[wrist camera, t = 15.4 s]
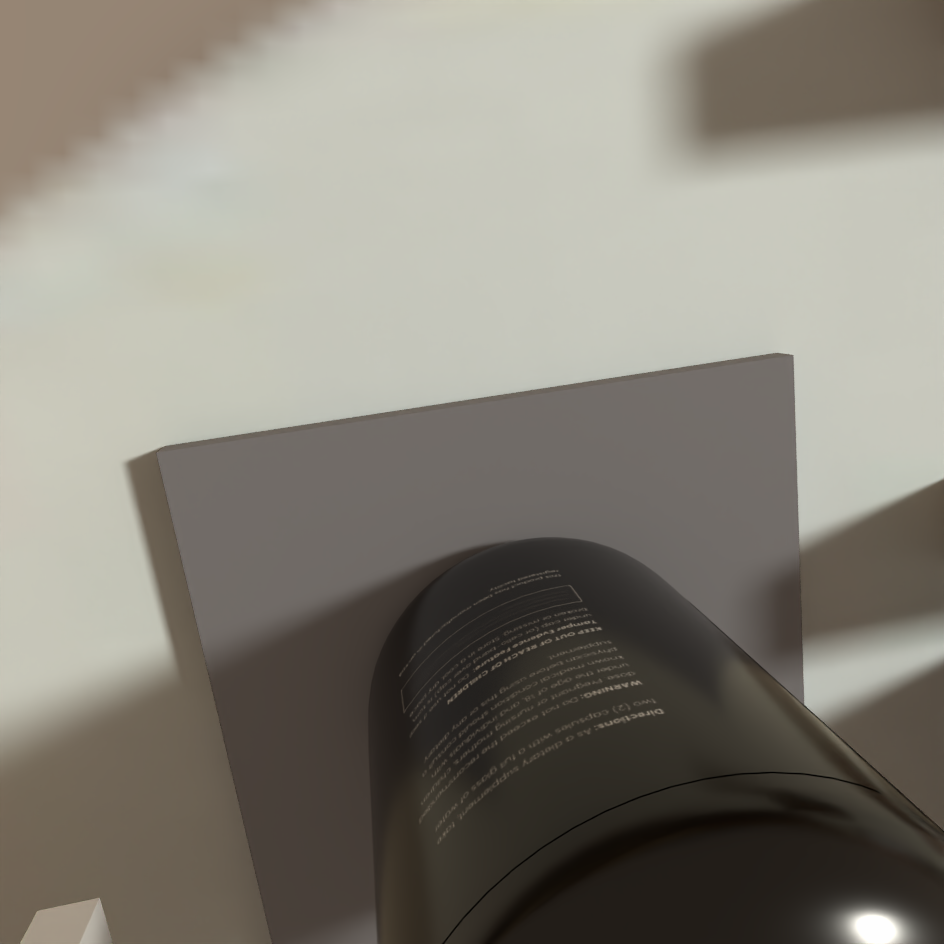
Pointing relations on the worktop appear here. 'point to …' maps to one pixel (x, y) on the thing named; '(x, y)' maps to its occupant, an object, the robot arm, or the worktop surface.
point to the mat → (441, 547)
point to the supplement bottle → (619, 775)
